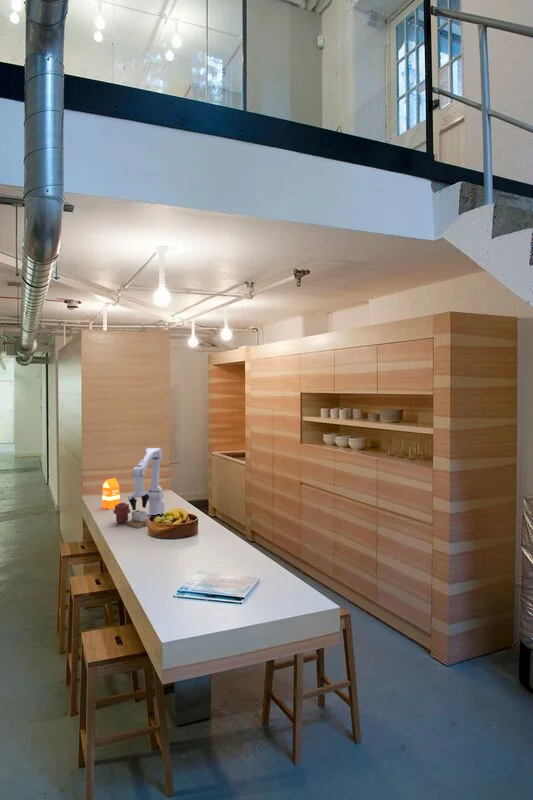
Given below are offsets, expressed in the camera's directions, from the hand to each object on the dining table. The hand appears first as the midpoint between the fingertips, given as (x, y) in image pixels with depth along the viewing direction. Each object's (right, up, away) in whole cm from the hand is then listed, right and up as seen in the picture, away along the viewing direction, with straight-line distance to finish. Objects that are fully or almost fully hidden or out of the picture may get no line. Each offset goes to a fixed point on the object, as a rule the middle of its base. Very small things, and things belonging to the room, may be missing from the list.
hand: (139, 508), depth 320 cm
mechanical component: (-12, -10, +4) cm, 16 cm away
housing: (0, -7, 0) cm, 7 cm away
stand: (0, -10, 0) cm, 10 cm away
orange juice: (-30, -8, +44) cm, 54 cm away
